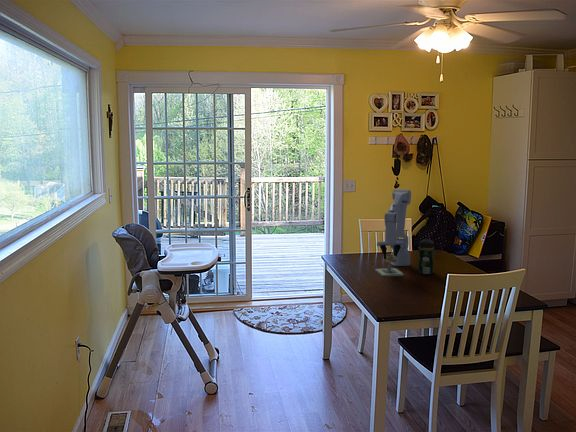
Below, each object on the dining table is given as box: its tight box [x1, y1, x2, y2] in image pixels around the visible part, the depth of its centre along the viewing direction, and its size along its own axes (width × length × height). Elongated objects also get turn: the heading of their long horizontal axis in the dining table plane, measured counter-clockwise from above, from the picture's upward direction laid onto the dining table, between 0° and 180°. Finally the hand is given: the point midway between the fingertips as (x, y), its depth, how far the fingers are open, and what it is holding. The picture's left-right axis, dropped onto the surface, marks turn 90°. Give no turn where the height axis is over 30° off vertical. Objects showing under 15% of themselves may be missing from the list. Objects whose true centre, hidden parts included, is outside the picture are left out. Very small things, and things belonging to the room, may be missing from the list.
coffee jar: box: [417, 238, 435, 276], centre depth 281 cm, size 10×8×19 cm
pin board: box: [375, 263, 405, 277], centre depth 281 cm, size 12×12×5 cm
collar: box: [383, 254, 396, 263], centre depth 280 cm, size 5×5×3 cm
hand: (389, 258), depth 280 cm, fingers closed on collar, 5 cm apart
